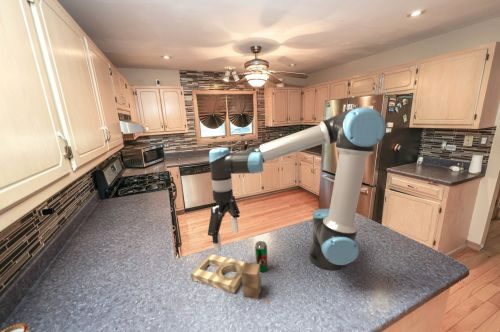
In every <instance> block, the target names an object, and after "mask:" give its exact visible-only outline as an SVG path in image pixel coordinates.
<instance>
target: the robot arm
mask: <svg viewBox="0 0 500 332" xmlns="http://www.w3.org/2000/svg"><path fill="white" fill-rule="evenodd" d="M386 128H387V125H386V119H385V118H384V116H383V115H382V114H381V113H380V112H379V111H378V110H376V109H374V108H369V107H356V108H354V109H347V110H343V111H342V112H340V113H338V114H336V115H334V116H332V117H329V118H327V119H325V120H322V121H320V123H319V124H318V125H315V126H311V127H308V128H305V129H304V130H301V131H297V132H295V133H292V134H288V135H286V136H283V137H279V138H277V139H274V140H271V141H268V142H264V143H262V144H260V145H256V146H253V147H249V148H246V149H245V150H244V151H243V152H235V153H231V151H230V149H229V148H228V147H218V148H212V149H211V150H210V151H209V153H208V154H209V156H208V157H209V162H208V163H209V168H210V177H211V185H212V196H213V199H212V200H213V201H214V202H215V203H216V204H215V206H211V207H210V217H209V224H208V230H207V236H208V237H212V244H213V250H214V251H218V252H222V242H221V234H220V229H221V226H222V222H223V218H224V217H225V216H226V214H227V213H228V214H229V215H230V216H231V217H230V224H231V225H230V226H231V233H235V234H237V233H239V223H238V218H240V214H241V211H240V209H239V206H238V204H237V201H236V196H235V195H234V193H233V192H234V190H233V179H232V175H233V174H237V175H239V174H253V175H254V174H261V173H263V171H264V163H267V162H270V161H273V160H276V159H279V158H282V157H285V156H289V155H292V154H295V153H298V152H301V151H305V150H309V149H311V148H313V147H317V146H319V145H323V144H326V145H331V144H334V143H336V144H335V149H336V150H337V152H338V158H337V164H336V170H335V177H334V181H333V187H332V193H331V200H330V205H329V208H318V209H316V210H313V214H312V243H311V246H310V248H309V250H308V258H309V261H310V262H311V263H312V264H313V265H314V266H316V267H318V268H319V269H323V270H328V271H336V270H340V269H342V268H343V267H344V266H345V265H348V264H350V263H352V262H353V263H354V261H355V260H356V259H357V258H358V256H359V254H360V253H359V252H360V250H359V245H358V243H357V242H356V239H357V232H358V227H357V225H356V224H355V219H356V218H355V217H356V214H357V209H358V204H359V198H360V194H361V191H362V184H363V179H364V175H365V169H366V166H367V161H368V157H369V156H370V155H372V154H373V153H374V152H375V149H376V144H378V143H379V141H381V140H382V138H383V137H384V136H385V133H386Z"/></svg>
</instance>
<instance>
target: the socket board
mask: <svg viewBox="0 0 500 332" xmlns="http://www.w3.org/2000/svg"><path fill="white" fill-rule="evenodd" d="M245 263H247V262H245V261H241V260H238V259H234V258H230V257H225V256H220V255H216V254H212V253H210V254H209V255H208V256H206V258H205V259H204V260H203V261H202V262H201V263H200V264H199V265H198V266H197V267H196V268H194V270H193V271H192V272H191V273H190V279H192V280H191V281H193V280H195V281H194V282H196V281H198V282H197V283H199V282H201V283H200V284H202V283H205V284H207V285H206V286H208V285H211V286H210V287H212V286H213V287H212V288H215V287H216V288H215V289H218V288H219V290H221V289H222V290H221V291H224V290H225V292H228V293H231V294H235V293H237V291H238V289H239V287H240V286H241V284H242V271H243V268H244V266H245ZM209 264H210V265H209ZM208 265H209V266H211V265H214V266H213V267H215V266H218V267H216V269H215V270H214V272H210V271H207V270H206V269H207V268H208V267H209V266H208ZM207 266H208V267H207ZM206 267H207V268H206ZM205 268H206V269H205ZM204 269H205V270H204ZM228 271H229V272H234V271H235V272H234V273H235V274H234V275H232V276H225V274H226V273H228ZM225 272H226V273H225ZM205 284H204V285H205Z"/></svg>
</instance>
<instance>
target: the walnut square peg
mask: <svg viewBox="0 0 500 332" xmlns="http://www.w3.org/2000/svg"><path fill="white" fill-rule="evenodd" d="M241 284H242V296H243V297H242V298H247V299H252V300H253V299H254V300H259V297H260V293H261V290H262V281H261V272H260V264H256V263H251V262H250V263H249V262H246V263H245V266H244V268H243V271H242V283H241Z"/></svg>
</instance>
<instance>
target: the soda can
mask: <svg viewBox="0 0 500 332" xmlns="http://www.w3.org/2000/svg"><path fill="white" fill-rule="evenodd" d="M254 248H255V249H254V252H255V253H254V255H255V264H260V273H266V272H267V271H268V269H269V262H268V245H267V242H265V241H264V240H263V241H262V240H261V241H259V240H258V241H257V242H255V246H254Z"/></svg>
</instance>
